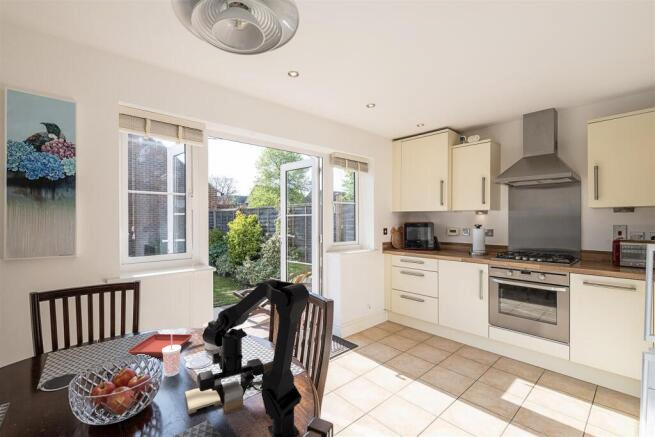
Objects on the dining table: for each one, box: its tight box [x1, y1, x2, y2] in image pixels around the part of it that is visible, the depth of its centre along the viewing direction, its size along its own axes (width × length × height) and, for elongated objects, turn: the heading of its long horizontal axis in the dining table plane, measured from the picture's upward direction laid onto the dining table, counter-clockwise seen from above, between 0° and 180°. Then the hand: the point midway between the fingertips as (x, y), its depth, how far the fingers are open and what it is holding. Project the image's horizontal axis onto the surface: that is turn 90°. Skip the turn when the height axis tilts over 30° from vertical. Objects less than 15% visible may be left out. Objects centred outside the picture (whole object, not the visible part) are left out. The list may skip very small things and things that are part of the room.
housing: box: [220, 379, 244, 415], centre depth 91 cm, size 6×5×6 cm
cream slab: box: [184, 387, 222, 415], centre depth 93 cm, size 10×9×2 cm
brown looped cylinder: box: [249, 360, 273, 386], centre depth 104 cm, size 7×13×10 cm
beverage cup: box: [162, 333, 182, 377], centre depth 109 cm, size 6×6×14 cm
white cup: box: [202, 321, 221, 351], centre depth 131 cm, size 8×8×10 cm
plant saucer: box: [127, 333, 193, 358], centre depth 128 cm, size 18×18×3 cm
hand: (231, 401), depth 91 cm, fingers closed on housing, 5 cm apart
